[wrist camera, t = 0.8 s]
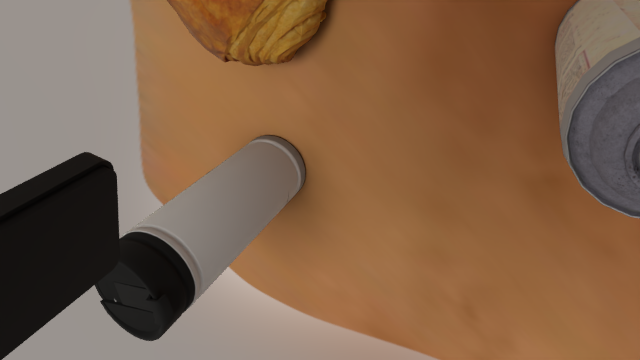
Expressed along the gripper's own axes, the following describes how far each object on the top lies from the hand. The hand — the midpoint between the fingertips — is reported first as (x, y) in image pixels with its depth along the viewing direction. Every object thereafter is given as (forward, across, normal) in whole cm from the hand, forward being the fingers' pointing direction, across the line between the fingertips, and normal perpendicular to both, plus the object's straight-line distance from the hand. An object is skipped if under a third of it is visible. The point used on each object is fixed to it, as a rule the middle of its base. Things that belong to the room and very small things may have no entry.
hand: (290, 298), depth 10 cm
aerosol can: (+28, -8, -2) cm, 30 cm away
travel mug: (+28, +12, +16) cm, 35 cm away
